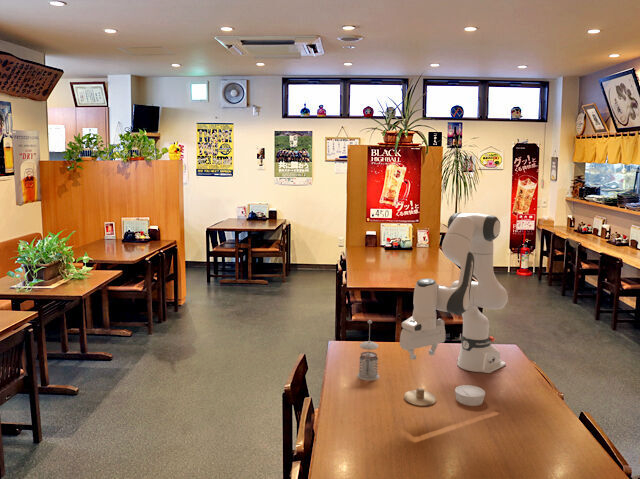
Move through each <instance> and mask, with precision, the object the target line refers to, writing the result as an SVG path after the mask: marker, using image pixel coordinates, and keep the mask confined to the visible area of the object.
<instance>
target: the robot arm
mask: <svg viewBox="0 0 640 479" xmlns="http://www.w3.org/2000/svg"><path fill="white" fill-rule="evenodd" d="M500 232H501V221H500V219H499V218H498V217H497V216H496V215H491V214H485V213H484V214H483V213H477V212H475V213H473V212H470V213H469V212H467V213H466V212H464V213H463V212H455V213H453V214H452V215H450V216H449V218H448V220H447V230H446V233H445V235H444V238H443V240H442V244H441V251H442V253H443V255H444V256H445V258H446V259H448V261H449V262H452V263H453V264H455V265H456V266H458V267H460V272H459V277H458V279H457V280H455V281H453V282H452V283H451V284H450V286H447V285H443V284H439V283H437V281H436V280H435V279H433V278H427V277H426V278H420V279H419V280H417V281H416V283H415V286H414V290H413V299H412V300H413V303H412V304H413V310H412V316H410V317H408V318H407V319H406V320H404V321H402V322H401V328H402V329H401V332H400V337H399V346H400V348H401V349H403V350H405V351H408V354H409V359H410V360H411V361H414V360H417V354H415V353H414V352H415V350H416V349H420V348H424V347H429V346H431V347H430V348H429V350H428V355H430V356H435V354H436V353H435V352H436V350H437V348H438V347H439V346H438V345H439V344H442V343H445V341H446V329H445V328H446V327H445V320H444V319H442V318H438V319H437V311H440V312H446V313H449V314H452V315H455V316H460V315H461V317H462V334H461V338H460V339H461V340H460V341H461V344H460V348H459V354H458V357H457V363H456V364H457V366H458V367H459V368H461V369H462V370H464V371H468V372H469V371H470V372H476V373H486V374H490V373H493V372H494V371H496V370H498V369H500V368H504V367H505V366H506V362H505V361H504V360H502V359H501V353H500V351H499V350H498V349H497V348H496V347H495V346H494V345H492V344H491V342H495V340H496V338H495V337H494V336H491V335H490V336H489V328H490V322H489V318H488V317H487V316H485V315H484V314H483V313H482V312H481V311H480V310H479V308H483V309H488V310H501V309H503V308H504V307H505V306H506V305H507V303H508V301H509V300H508V299H509V294H508V290H507V289H506V288H505V287H504V286H502V284H501V283H500V281H498V278H497V277H496V274H495V272H494V241H495V239H497V237H499V235H500ZM473 276H474V277H475V278H476V279H477V281H475V280H473ZM436 310H437V311H436Z"/></svg>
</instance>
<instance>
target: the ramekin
mask: <svg viewBox="0 0 640 479" xmlns="http://www.w3.org/2000/svg"><path fill="white" fill-rule="evenodd" d="M454 394H455V399H456V401H457V402H458V403H460V404H462V405H465V406H470V407H476V406H481V405H482V404H483V403H484V400H485V396H486V391H485V390H484V389H483V388H481V387H479V386H477V385H471V384H462V385H458V386H456V387H455V388H454Z"/></svg>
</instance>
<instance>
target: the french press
mask: <svg viewBox="0 0 640 479" xmlns="http://www.w3.org/2000/svg"><path fill="white" fill-rule="evenodd" d="M367 324H368V325H369V329H368V331H369V332H368V336H369V337H368V341H364V342H361V343H360V344H359V347H360V348H361V349H363V350H368V351H362V352H361V353H360V356H359V365H358V368H359V369H358V371H359V372H358V373H357V374H356V377H357V378H358V379H360V380H362V381H367V382H368V381H371V382H372V381H377V380H379V379H380V375H379V374H378V365H379V358H378V357H377V356H378V354H377V353H376V352H373V350H377V349H378V348H379V344H378V343H376V342H375V341H371V339H370V337H371V324H373V320H371V319H369V320H367Z"/></svg>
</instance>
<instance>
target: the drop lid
mask: <svg viewBox="0 0 640 479" xmlns="http://www.w3.org/2000/svg"><path fill="white" fill-rule="evenodd" d="M403 397H404V398H403V399H404V400H405V402H407V403H409V404H411V405H414V406H420V407H424V406H425V407H428V406H432V405H434V404H436V401H437V398H436V396H435V395H434V394H433V393H431V392H429V391H427V390H426V391H425V389H424V388H423V387H417V388H416V389H415V390H413V389H412V390H409V391H406V392H405V393H404V396H403Z"/></svg>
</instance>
